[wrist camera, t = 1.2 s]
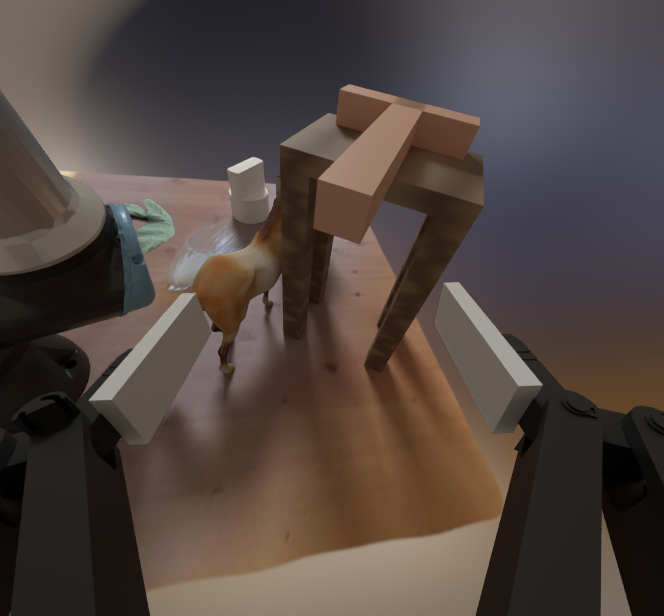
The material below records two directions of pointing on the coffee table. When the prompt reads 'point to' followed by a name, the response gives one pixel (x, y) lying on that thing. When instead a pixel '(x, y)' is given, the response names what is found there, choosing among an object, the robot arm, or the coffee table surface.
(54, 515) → the robot arm
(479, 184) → the walnut table
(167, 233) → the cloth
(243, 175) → the cylinder with rectangular tab
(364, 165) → the terracotta T
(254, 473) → the coffee table surface
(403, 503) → the coffee table surface
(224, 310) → the horse figurine
